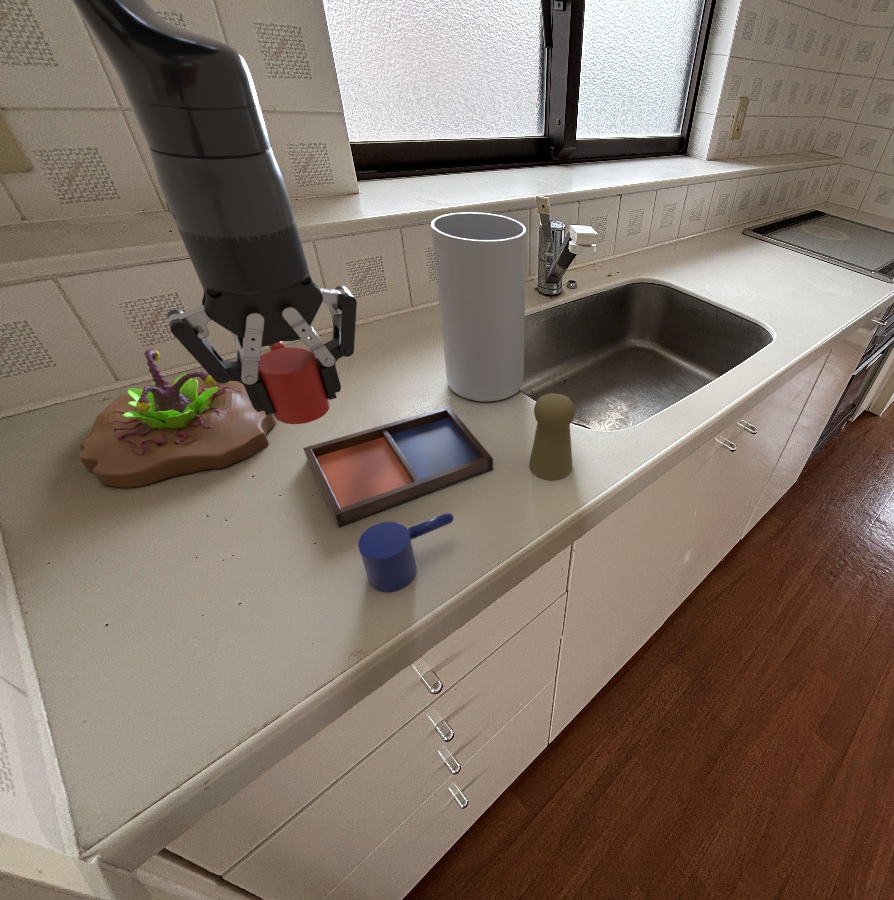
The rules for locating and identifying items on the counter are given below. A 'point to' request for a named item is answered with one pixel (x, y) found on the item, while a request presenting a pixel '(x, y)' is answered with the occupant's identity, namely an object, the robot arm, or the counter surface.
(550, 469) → the olive pawn figure
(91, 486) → the counter surface
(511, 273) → the cylinder vase
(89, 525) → the counter surface
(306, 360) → the red scoop
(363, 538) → the blue scoop
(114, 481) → the plant
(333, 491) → the tray
